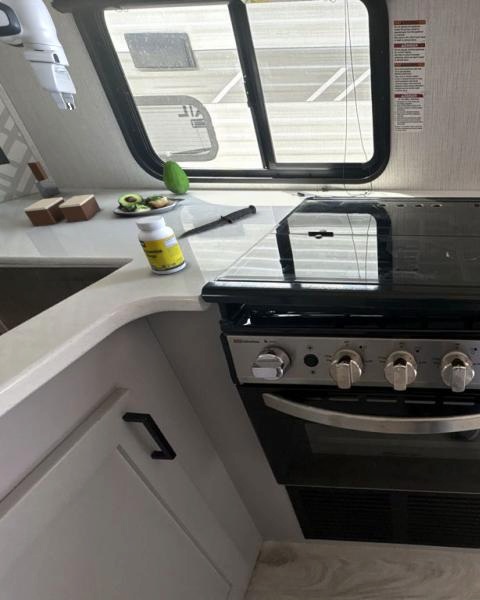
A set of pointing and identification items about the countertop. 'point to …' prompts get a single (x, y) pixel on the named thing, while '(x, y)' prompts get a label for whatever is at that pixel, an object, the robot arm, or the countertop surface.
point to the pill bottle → (160, 245)
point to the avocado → (175, 178)
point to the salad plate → (144, 205)
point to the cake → (62, 210)
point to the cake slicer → (43, 180)
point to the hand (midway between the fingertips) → (68, 109)
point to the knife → (223, 220)
